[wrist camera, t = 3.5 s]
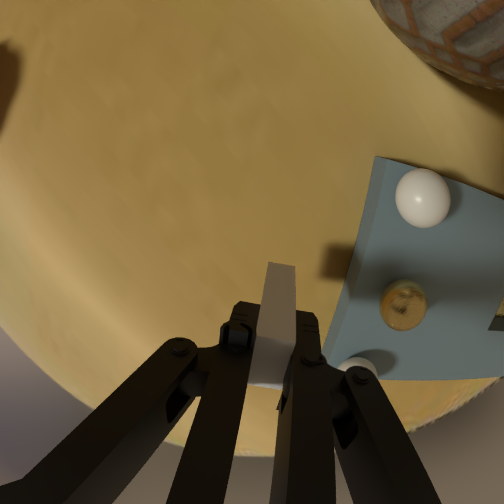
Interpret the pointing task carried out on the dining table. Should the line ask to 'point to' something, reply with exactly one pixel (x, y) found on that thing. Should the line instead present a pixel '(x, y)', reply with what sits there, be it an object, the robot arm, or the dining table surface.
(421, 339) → the plate
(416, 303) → the ball
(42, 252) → the dining table surface
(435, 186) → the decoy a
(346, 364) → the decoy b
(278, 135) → the dining table surface
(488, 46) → the vase
